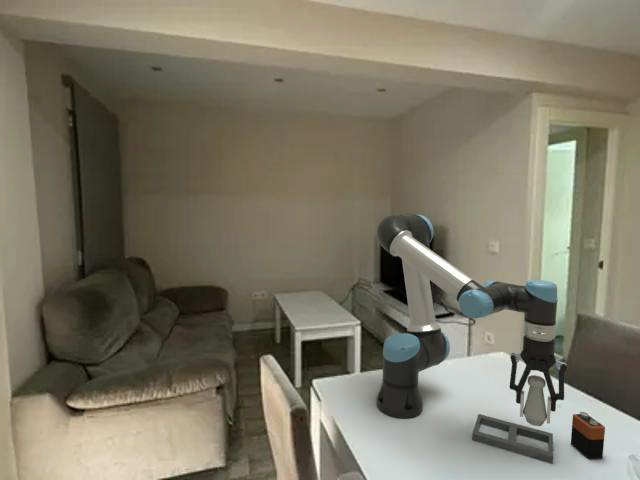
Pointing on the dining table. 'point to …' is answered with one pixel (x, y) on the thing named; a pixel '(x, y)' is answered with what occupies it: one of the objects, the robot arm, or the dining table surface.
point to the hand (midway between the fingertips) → (534, 417)
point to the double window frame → (514, 438)
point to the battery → (587, 435)
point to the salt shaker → (535, 402)
